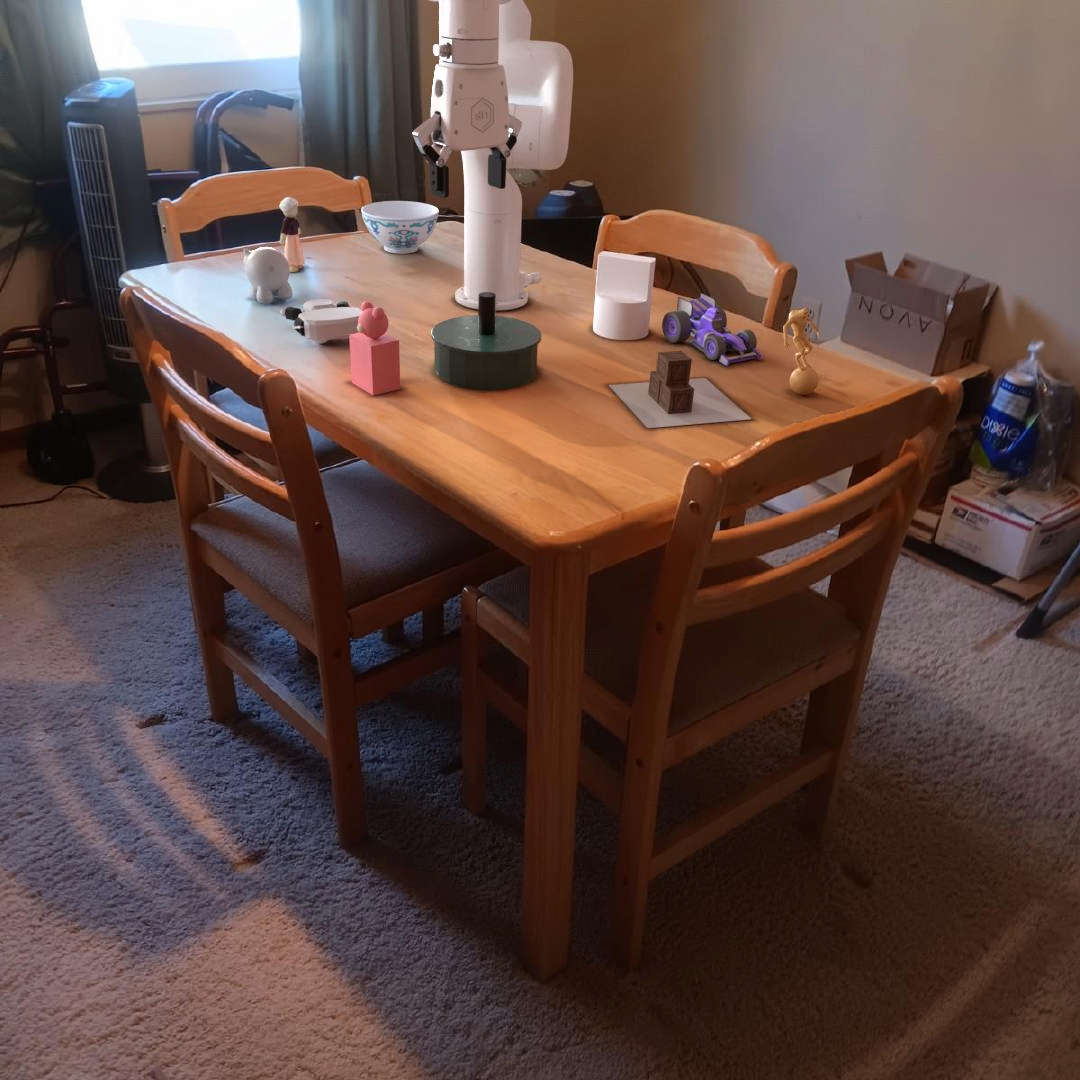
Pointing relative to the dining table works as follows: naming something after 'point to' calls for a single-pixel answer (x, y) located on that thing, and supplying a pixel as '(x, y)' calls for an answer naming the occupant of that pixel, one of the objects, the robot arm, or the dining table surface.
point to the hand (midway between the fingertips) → (468, 191)
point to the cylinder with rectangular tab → (623, 295)
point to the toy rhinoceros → (267, 274)
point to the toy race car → (708, 330)
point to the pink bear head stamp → (374, 353)
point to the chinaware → (400, 224)
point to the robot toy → (324, 320)
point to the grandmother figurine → (291, 234)
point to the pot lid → (486, 332)
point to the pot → (485, 368)
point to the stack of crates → (677, 396)
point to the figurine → (801, 353)
